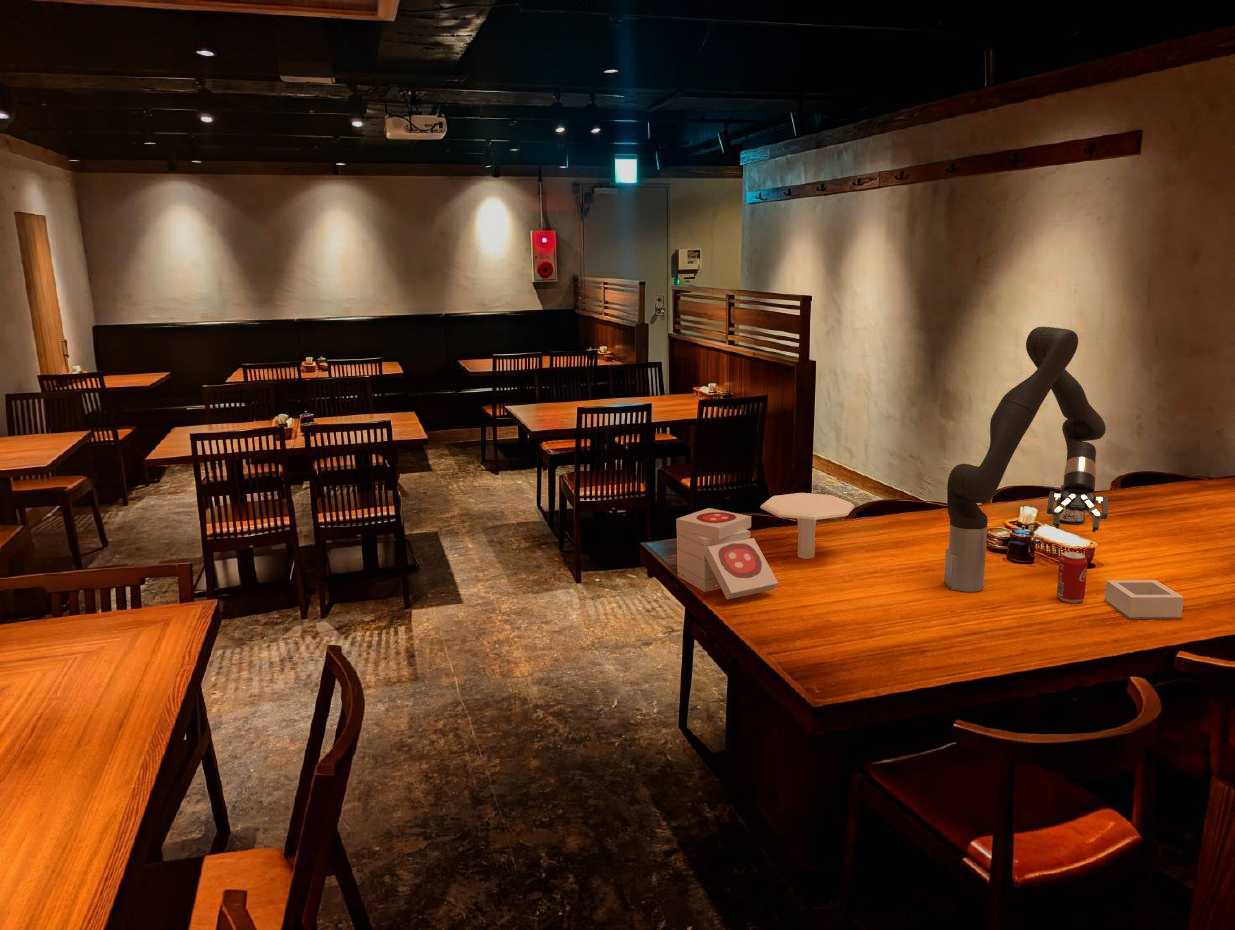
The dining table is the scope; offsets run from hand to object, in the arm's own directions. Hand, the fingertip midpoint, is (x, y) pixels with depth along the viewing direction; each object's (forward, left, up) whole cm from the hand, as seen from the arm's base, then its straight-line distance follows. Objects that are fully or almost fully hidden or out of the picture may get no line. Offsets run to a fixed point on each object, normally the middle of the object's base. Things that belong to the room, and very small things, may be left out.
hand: (1075, 529), depth 223 cm
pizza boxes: (-92, +2, -16) cm, 93 cm away
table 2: (-66, +27, -16) cm, 73 cm away
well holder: (+9, -17, -16) cm, 25 cm away
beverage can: (-5, -10, -16) cm, 20 cm away
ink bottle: (+27, +62, -16) cm, 69 cm away
